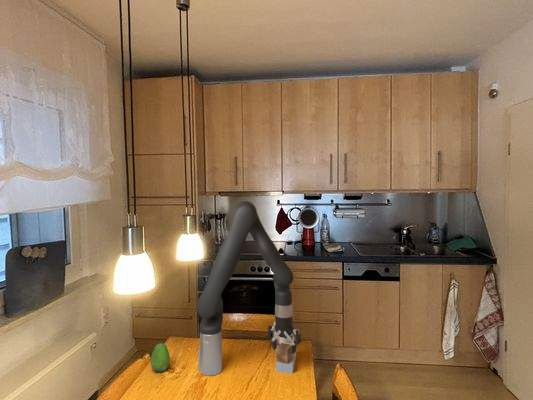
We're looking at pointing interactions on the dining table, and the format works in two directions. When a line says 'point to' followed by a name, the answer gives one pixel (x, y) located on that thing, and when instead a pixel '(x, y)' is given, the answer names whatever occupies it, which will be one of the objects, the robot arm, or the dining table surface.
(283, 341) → the milk bottle
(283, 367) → the base block
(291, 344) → the beige block
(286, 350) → the walnut block
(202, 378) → the dining table surface
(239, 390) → the dining table surface
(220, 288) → the robot arm
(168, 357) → the avocado
